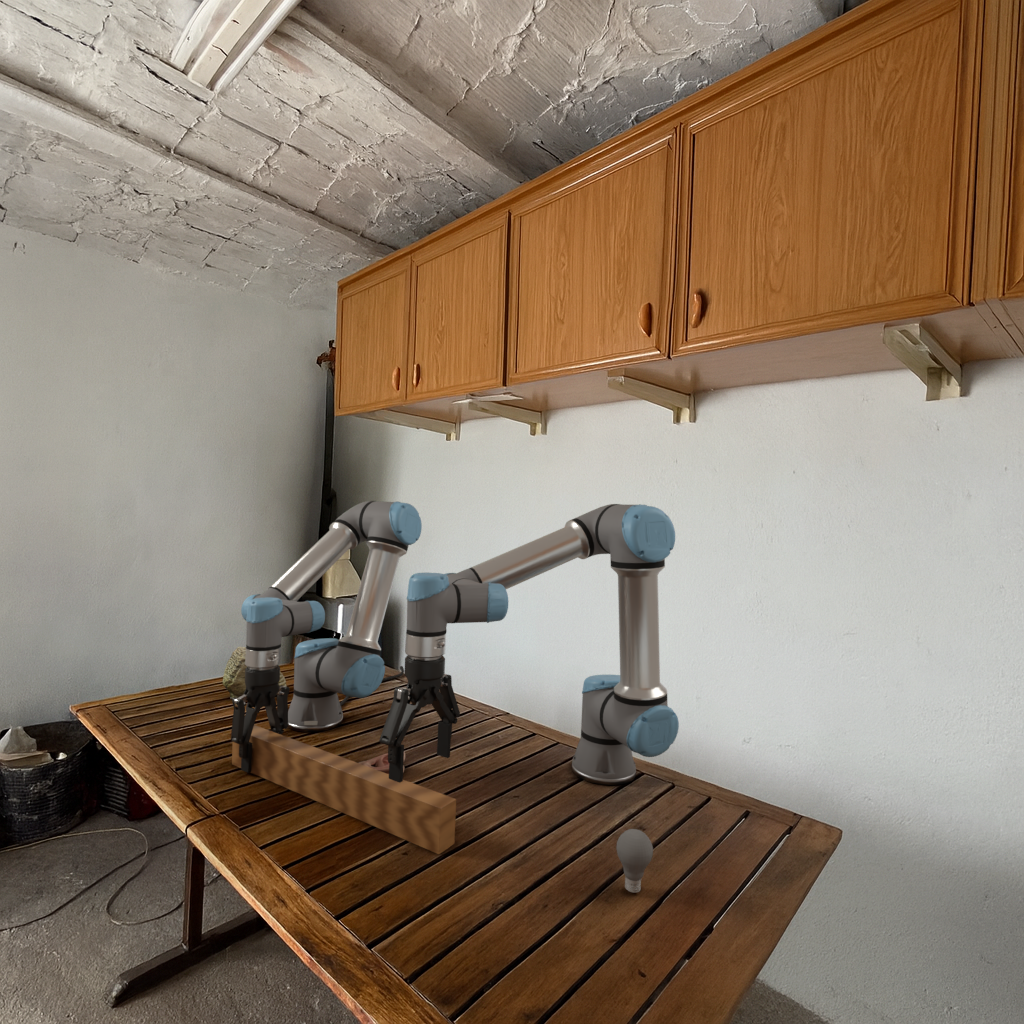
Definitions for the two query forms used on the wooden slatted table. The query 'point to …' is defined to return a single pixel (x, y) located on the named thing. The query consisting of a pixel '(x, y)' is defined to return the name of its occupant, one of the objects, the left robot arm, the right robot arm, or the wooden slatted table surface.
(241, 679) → the fossil
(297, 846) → the wooden slatted table surface
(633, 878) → the light bulb
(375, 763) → the anatomical model
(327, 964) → the wooden slatted table surface
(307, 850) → the wooden slatted table surface
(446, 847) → the beam
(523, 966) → the wooden slatted table surface
